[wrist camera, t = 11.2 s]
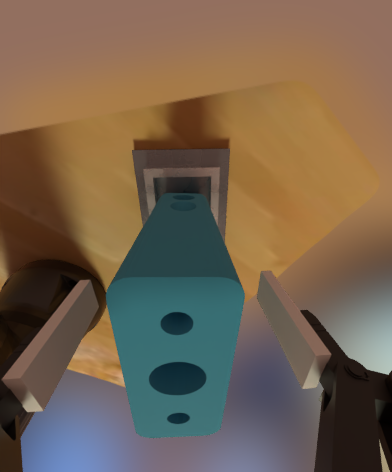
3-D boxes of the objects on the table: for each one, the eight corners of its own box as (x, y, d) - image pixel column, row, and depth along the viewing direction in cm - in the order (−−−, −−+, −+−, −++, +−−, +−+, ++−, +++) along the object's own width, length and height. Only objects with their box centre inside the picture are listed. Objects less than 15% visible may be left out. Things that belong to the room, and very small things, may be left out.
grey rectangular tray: (152, 278, 32) (148, 290, 29) (134, 150, 23) (127, 150, 21) (221, 275, 32) (224, 286, 30) (228, 148, 24) (233, 148, 21)
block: (165, 182, 24) (101, 277, 6) (203, 183, 25) (248, 277, 6) (168, 260, 29) (137, 438, 11) (199, 260, 30) (219, 434, 11)
